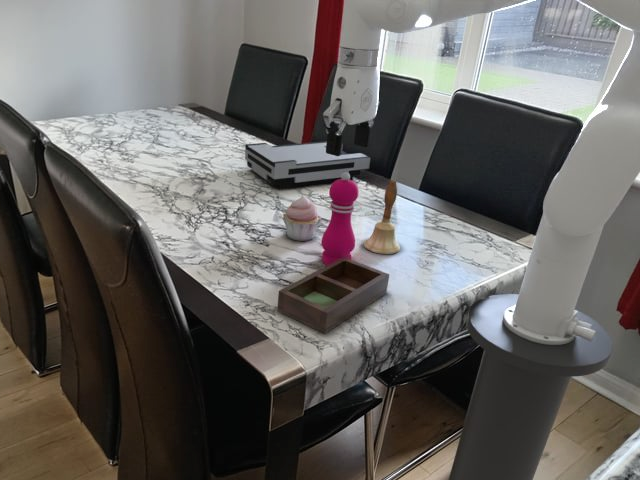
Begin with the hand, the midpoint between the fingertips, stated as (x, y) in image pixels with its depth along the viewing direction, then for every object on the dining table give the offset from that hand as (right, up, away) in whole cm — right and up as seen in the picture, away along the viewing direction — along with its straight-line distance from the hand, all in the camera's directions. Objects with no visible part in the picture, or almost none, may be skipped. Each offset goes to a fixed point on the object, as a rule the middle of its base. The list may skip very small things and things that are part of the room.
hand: (347, 150), depth 114 cm
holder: (-3, -30, -4) cm, 30 cm away
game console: (-3, +7, +64) cm, 65 cm away
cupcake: (-8, -15, +23) cm, 29 cm away
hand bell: (+11, -18, +19) cm, 29 cm away
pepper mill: (-1, -22, +12) cm, 25 cm away
